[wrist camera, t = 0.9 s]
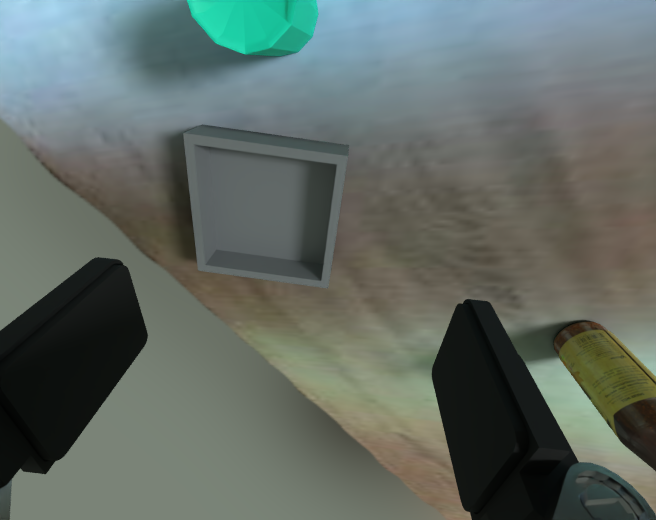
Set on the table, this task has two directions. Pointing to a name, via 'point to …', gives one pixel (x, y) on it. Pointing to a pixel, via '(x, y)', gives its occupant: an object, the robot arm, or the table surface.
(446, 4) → the table surface
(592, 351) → the sauce bottle
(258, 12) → the candle
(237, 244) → the box
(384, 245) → the table surface
